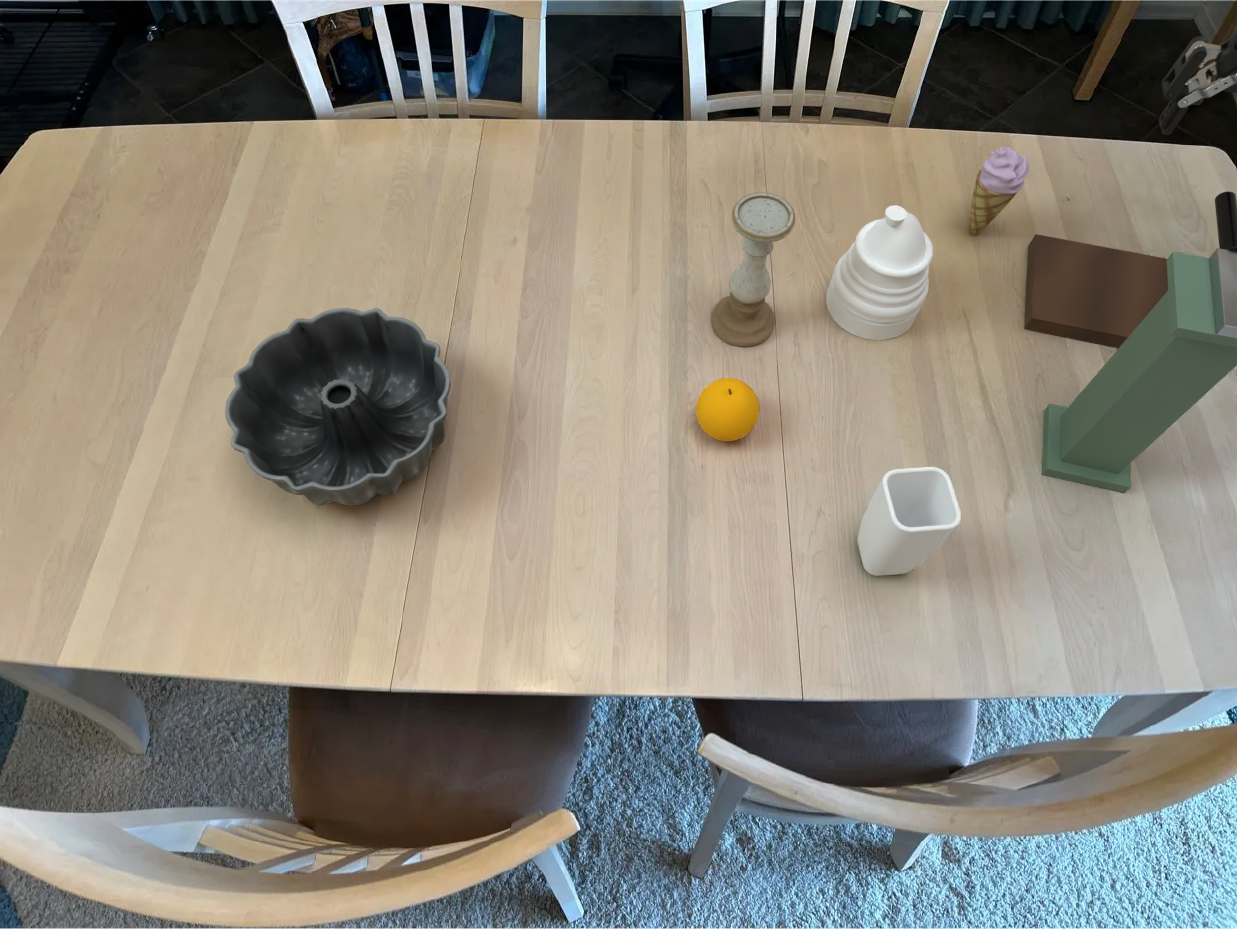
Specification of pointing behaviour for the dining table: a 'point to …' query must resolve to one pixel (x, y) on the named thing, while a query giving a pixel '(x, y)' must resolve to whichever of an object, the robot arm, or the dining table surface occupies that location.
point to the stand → (1142, 384)
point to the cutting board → (1090, 290)
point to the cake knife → (1225, 266)
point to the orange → (727, 409)
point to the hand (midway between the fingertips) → (1203, 134)
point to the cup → (907, 520)
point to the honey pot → (882, 277)
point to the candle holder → (752, 270)
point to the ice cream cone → (996, 186)
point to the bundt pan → (340, 405)
